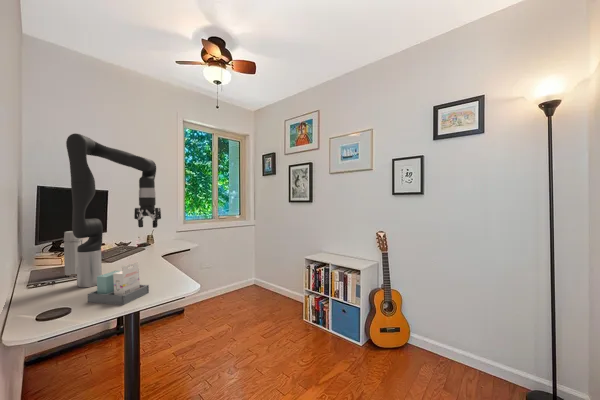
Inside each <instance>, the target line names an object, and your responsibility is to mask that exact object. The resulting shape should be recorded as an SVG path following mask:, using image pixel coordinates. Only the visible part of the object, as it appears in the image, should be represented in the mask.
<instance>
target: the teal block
mask: <svg viewBox="0 0 600 400" xmlns="http://www.w3.org/2000/svg"><path fill="white" fill-rule="evenodd" d="M119 271H120V270H113V271H110V272H107V273H104V274H103V273H102V275H100V276H97V285H96V288H97V289H96V291H97V294H108V293H111V292H113V291H114V280H113V273H116V272H119Z"/></svg>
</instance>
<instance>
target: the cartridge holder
mask: <svg viewBox="0 0 600 400" xmlns="http://www.w3.org/2000/svg"><path fill="white" fill-rule="evenodd" d="M149 291H150V286H149V284H140V288H139V289H137V290H135V291H133V292H130V293H128V294H126V295H114V291H113V292H111V293H108V294H97V290H95V291H92V292H88V293H87V303H97V304H107V305H120V306H124V305H127V304H128V303H131V302H132V301H136V300H137V299H140V298H141V297H143V296H145V295H148V294H149Z"/></svg>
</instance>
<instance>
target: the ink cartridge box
mask: <svg viewBox="0 0 600 400" xmlns="http://www.w3.org/2000/svg"><path fill="white" fill-rule="evenodd" d="M118 271H119V272H116V273H113V280H114V295H126V294H128V293H130V292H133V291H135V290H137V289H139V288H140V285H141V284H140V283H141V282H140V281H141V280H140V268H139V261H136V262H132V263H128V264H126V265H122V266H121V270H118Z"/></svg>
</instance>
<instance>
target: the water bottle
mask: <svg viewBox="0 0 600 400" xmlns="http://www.w3.org/2000/svg"><path fill="white" fill-rule="evenodd" d="M63 235H64V236H63V255H64V256H63V257H64V258H63V259H64V261H63V262H64V276H65V275H71V274H77V267H78V252H77V248H78V246H79V245H81V244H83V239H84V238H76V237H75V236H74V234H73V231H72V230H69V231H64V234H63Z"/></svg>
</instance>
